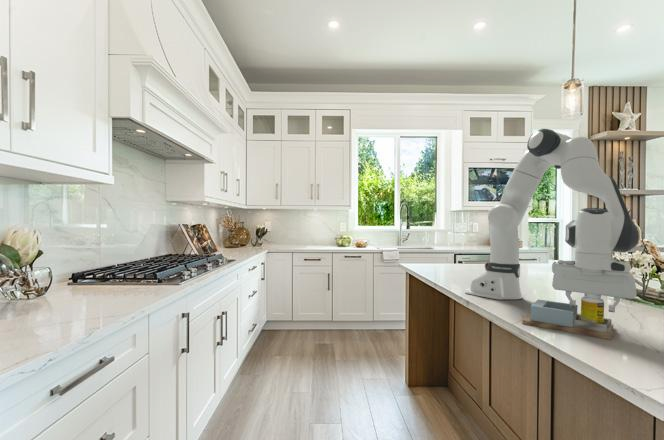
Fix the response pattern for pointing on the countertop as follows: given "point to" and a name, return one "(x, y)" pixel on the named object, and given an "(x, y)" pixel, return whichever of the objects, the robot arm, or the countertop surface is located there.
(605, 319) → the board
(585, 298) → the supplement bottle
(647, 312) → the countertop surface
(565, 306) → the box
